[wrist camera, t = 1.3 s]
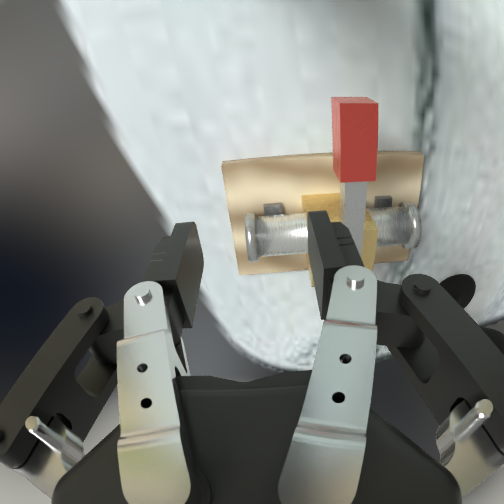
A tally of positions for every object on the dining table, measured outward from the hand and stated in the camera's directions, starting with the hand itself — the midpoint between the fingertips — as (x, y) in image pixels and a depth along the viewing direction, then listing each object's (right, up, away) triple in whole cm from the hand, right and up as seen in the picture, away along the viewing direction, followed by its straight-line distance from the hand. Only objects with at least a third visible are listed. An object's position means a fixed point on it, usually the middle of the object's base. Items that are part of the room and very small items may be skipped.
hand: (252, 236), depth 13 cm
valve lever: (+8, +4, +14) cm, 16 cm away
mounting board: (+9, +4, +26) cm, 27 cm away
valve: (+9, +3, +24) cm, 26 cm away
